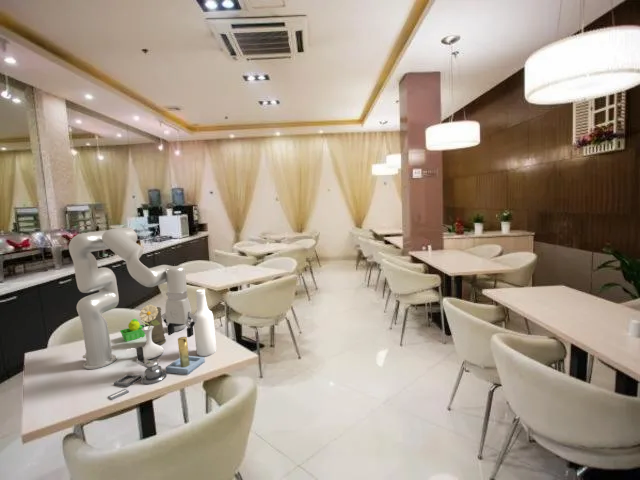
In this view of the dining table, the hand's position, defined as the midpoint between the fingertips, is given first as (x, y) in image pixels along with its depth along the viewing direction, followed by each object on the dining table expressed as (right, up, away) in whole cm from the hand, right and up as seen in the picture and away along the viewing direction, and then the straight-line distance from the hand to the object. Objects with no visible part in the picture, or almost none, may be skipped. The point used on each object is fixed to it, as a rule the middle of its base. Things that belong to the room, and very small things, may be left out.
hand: (180, 335), depth 145 cm
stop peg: (+1, -13, +1) cm, 13 cm away
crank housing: (-12, -16, -7) cm, 21 cm away
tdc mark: (-16, -17, -18) cm, 29 cm away
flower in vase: (-19, -14, +14) cm, 28 cm away
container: (-25, -13, +30) cm, 41 cm away
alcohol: (+6, -13, +15) cm, 20 cm away
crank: (-12, -11, -5) cm, 17 cm away
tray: (+2, -14, +1) cm, 14 cm away
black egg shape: (-21, -10, +48) cm, 54 cm away
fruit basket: (-41, -13, +39) cm, 58 cm away
